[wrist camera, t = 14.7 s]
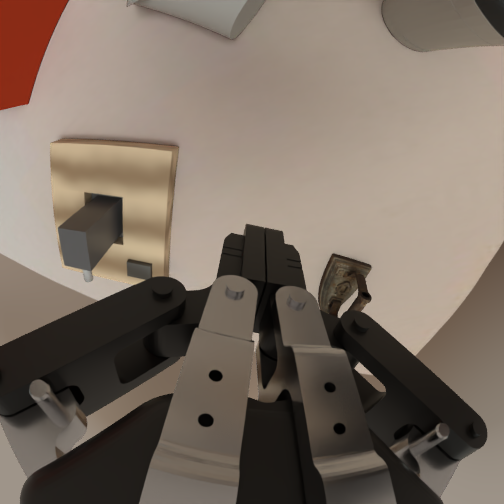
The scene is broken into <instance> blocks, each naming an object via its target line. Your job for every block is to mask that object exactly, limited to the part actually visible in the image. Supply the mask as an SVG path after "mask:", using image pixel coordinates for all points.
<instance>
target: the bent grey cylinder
mask: <svg viewBox="0 0 504 504" xmlns="http://www.w3.org/2000/svg"><path fill="white" fill-rule="evenodd" d="M264 1H265V0H127V7H128V6H130V5H132V4H135V5H139V6H143V7H146V8H150V9H153V10H156V11H160V12H163V13H166V14H169V15H172V16H175V17H178V18H181V19H183V20H186V21H189V22H191V23H194V24H197V25H199V26H202V27H204V28H206V29H209V30H211V31H214V32H216V33H218V34H220V35H223V36H225V37H227V38H229V39H234V38H235V37H237V36H238V35H239V34H240V33H241V32H242V31H243V30H244V29H245V28H246V26H247V25H248V24H249V23H250V21H251V20H252V19H253V17H254V16H255V15H256V13H257V12H258V10H259V9H260V7H261V6H262V4H263V3H264Z"/></svg>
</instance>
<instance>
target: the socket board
mask: <svg viewBox="0 0 504 504" xmlns="http://www.w3.org/2000/svg"><path fill="white" fill-rule="evenodd" d="M178 150H179V147H175V146H167V145H158V144H148V143H138V142H126V141H111V140H93V139H60V140H58V141H55V142H52V143H50V161H51V184H52V198H53V208H54V217H55V225H56V232H57V239H58V245H59V251H60V257H61V262H62V267H63V268H66V269H70V270H74V271H78V272H82V273H83V270H82V269H78V268H74V267H69V266H65V265H64V260H63V255H62V250H61V245H60V239H59V233H58V227H59V226H60V225H61V224H63V223H64V222H65V221H66V220H67V219H69V218H70V217H71V216H72V215H73V214H75V213H76V212H77V211H78V210H79V209H81V208H82V207H83V206H85V205H86V204H87V203H88V202H90V201H91V200H92V199H93V198H95V197H96V196H97V195H99V196H108V197H117V198H122V204H123V233H122V234H121V235H120V236H119V237H118V238H117V240H116V241H115V242H114V243H113V245H112V246H111V247H110V248H109V249H108V251H107V252H106V253H105V254H104V256H103V257H102V258H101V260H100V261H99V262H98V263H97V265H96V266H95V267H94V269H93V270H92V275H94V276H98V277H102V278H107V279H111V280H115V281H119V282H124V283H128V284H133V285H136V284H138V283H140V282H142V281H145V280H147V279H149V278H152V277H157V276H165V277H169V253H170V235H171V220H172V207H173V196H174V186H175V176H176V167H177V158H178Z"/></svg>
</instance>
